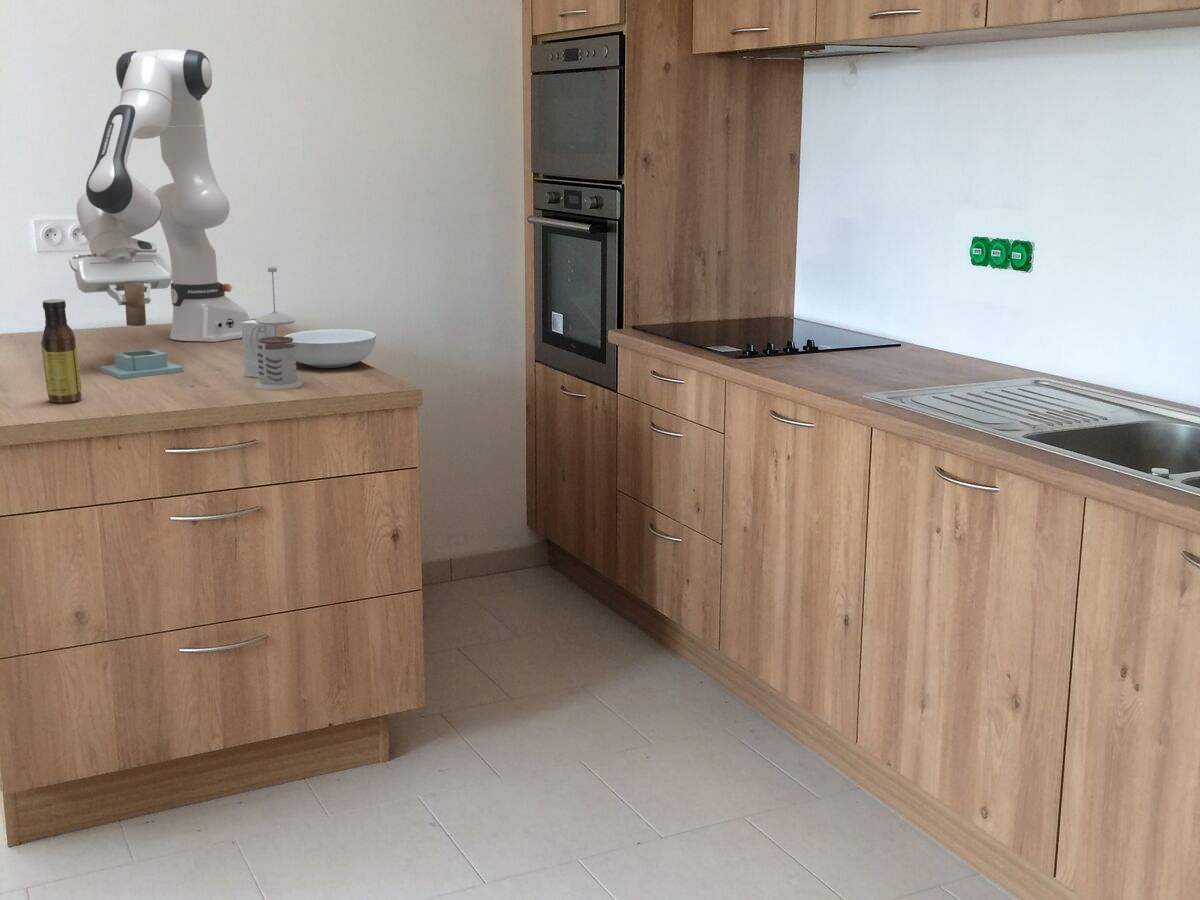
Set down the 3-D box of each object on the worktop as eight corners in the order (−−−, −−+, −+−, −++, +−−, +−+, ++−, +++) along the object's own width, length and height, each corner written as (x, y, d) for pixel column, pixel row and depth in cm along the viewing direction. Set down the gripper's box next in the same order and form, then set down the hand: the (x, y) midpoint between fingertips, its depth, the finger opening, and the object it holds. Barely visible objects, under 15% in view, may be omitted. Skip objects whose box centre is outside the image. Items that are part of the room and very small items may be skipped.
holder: (160, 363, 280) (159, 346, 279) (183, 371, 272) (182, 353, 271) (99, 370, 271) (97, 353, 270) (120, 379, 262) (119, 360, 261)
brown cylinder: (141, 323, 271) (139, 282, 269) (149, 325, 268) (146, 284, 266) (123, 324, 269) (121, 283, 266) (131, 326, 266) (128, 285, 264)
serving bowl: (333, 353, 297) (332, 325, 295) (395, 363, 285) (394, 334, 284) (264, 365, 280) (263, 335, 279) (328, 376, 269) (326, 345, 267)
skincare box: (278, 375, 269) (276, 321, 266) (267, 378, 265) (264, 323, 262) (255, 373, 271) (252, 319, 268) (243, 376, 267) (240, 322, 264)
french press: (277, 391, 253) (271, 269, 246) (238, 384, 259) (231, 265, 252) (311, 383, 261) (306, 265, 255) (273, 377, 267) (267, 262, 261)
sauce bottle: (63, 396, 244) (53, 297, 240) (89, 398, 243) (80, 298, 238) (39, 403, 238) (29, 301, 233) (66, 405, 237) (56, 302, 232)
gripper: (69, 246, 263) (90, 296, 258) (162, 243, 276) (183, 291, 272) (63, 265, 267) (83, 315, 262) (155, 261, 281) (175, 308, 276)
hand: (135, 302), depth 267 cm, fingers closed on brown cylinder, 4 cm apart
